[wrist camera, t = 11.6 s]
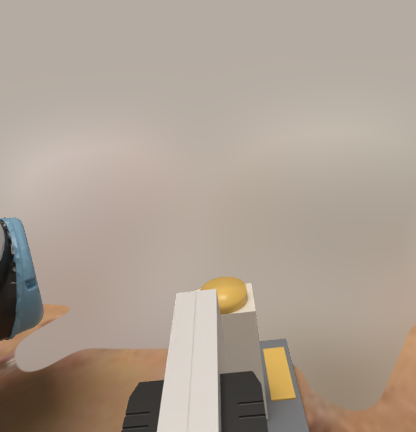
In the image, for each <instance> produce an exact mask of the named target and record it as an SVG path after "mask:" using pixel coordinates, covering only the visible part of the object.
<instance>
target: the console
mask: <svg viewBox="0 0 416 432" xmlns="http://www.w3.org/2000/svg"><path fill="white" fill-rule="evenodd" d="M259 344H260V353H261V361H262V370H263V378H264V387H265V395H266V404H267V412H268V419H266V420H267V427H268V432H309V428H308V424H307V420H306V416H305V413H304V409H303V405H302V401H301V397H300V393H299V389H298V385H297V381H296V377H295V373H294V369H293V365H292V361H291V357H290V353H289V349H288V345H287V341H286V339H279V340H270V341H269V340H268V341H259Z"/></svg>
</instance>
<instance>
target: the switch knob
mask: <svg viewBox="0 0 416 432" xmlns="http://www.w3.org/2000/svg"><path fill="white" fill-rule="evenodd" d="M210 289H216V290H217V297H218V303H219V309H220V316H221V322H222V328H223V335H224V341H225V355H226V373H234V372H245V371H253V372H254V374H255V375H256V377H257V378H258V380H259V381H260V383H261V385H262V392H263V399H264V406H265V413H266V419H268V412H267V404H266V395H265V387H264V378H263V370H262V361H261V353H260V344H259V335H258V327H257V319H256V310H255V304H254V298H253V292H252V286H251V283H249V284H245V283H244V282H243V281H241V280H240V279H237V278H234V277H220V278H216V279H213V280H210V281H209V282H207V283H205V284H204V285H203V286H202V288H201V289H197V291H201V290H210Z"/></svg>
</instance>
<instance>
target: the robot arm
mask: <svg viewBox="0 0 416 432" xmlns="http://www.w3.org/2000/svg"><path fill="white" fill-rule="evenodd" d="M43 314H44V310H43V304H42V300H41V295H40V291H39V287H38V283H37V280H36V275H35V271H34V266H33V262H32V258H31V254H30V250H29V246H28V242H27V238H26V234H25V230H24V227H23V224H22V222H21V220H19V219H17V218H1V219H0V341H1V340H4V339H5V340H9V339H12V338H13V337H14V336H15V335H17V334H19V333H21V332H23V331H26V330H28V329H31V328H33V327H35V326H36V325H37V324H38V323H39V322H40V321H41V320H42V318H43ZM122 428H123V430H122V431H121V432H268V427H267V420H266V413H265V406H264V399H263V392H262V385H261V383H260V381H259V380H258V378H257V377H256V375H255V374H254V372H253V371H245V372H234V373H226V355H225V341H224V335H223V328H222V322H221V316H220V309H219V303H218V297H217V290H216V289H210V290H201V291H192V292H183V293H177V295H176V302H175V309H174V316H173V322H172V330H171V336H170V343H169V350H168V357H167V364H166V371H165V378H164V380H160V381H149V382H139V384H138V385H137V387H136V388H135V390H134V391H133V393H132V394H131V396H130V397H129V402H128V406H127V410H126V417H125V419H124V423H123V427H122Z"/></svg>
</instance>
